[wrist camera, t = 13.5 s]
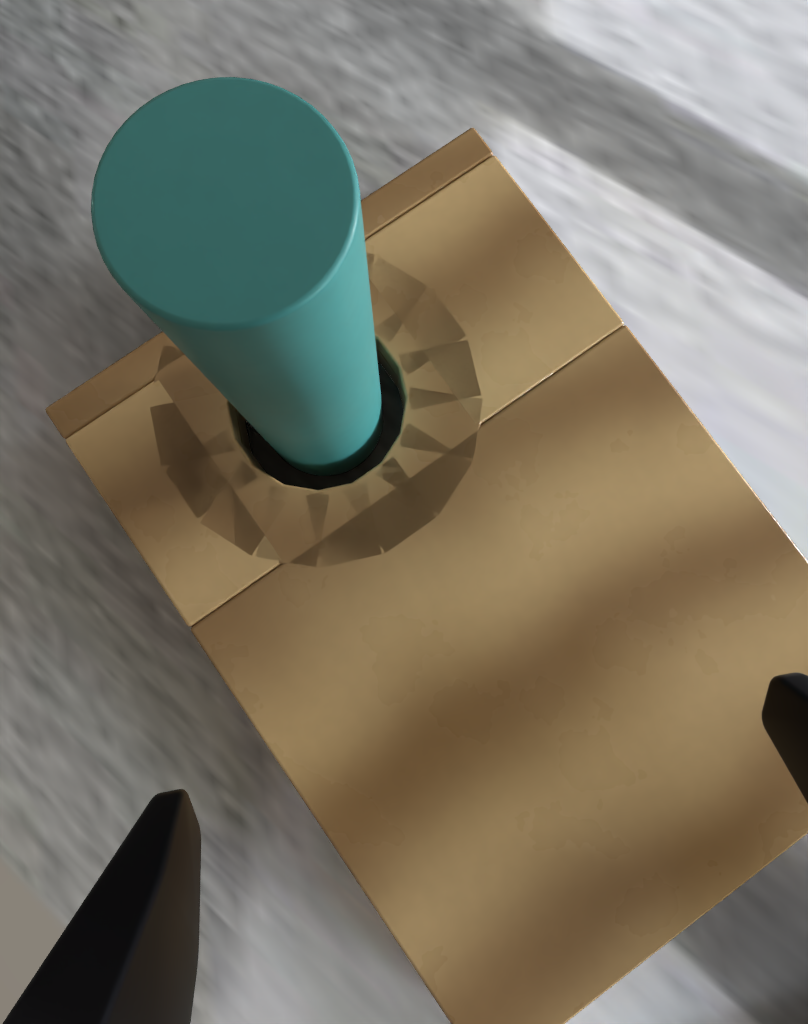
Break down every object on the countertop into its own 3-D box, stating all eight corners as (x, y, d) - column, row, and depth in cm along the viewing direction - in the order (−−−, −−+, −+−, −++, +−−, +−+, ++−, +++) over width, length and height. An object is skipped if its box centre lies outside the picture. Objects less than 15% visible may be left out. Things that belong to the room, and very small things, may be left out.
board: (882, 715, 18) (941, 731, 16) (479, 1026, 17) (489, 1083, 15) (459, 161, 20) (465, 114, 18) (73, 416, 19) (34, 397, 17)
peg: (406, 433, 19) (413, 229, 8) (310, 498, 19) (183, 382, 8) (340, 341, 19) (261, 25, 8) (245, 405, 19) (36, 166, 8)
